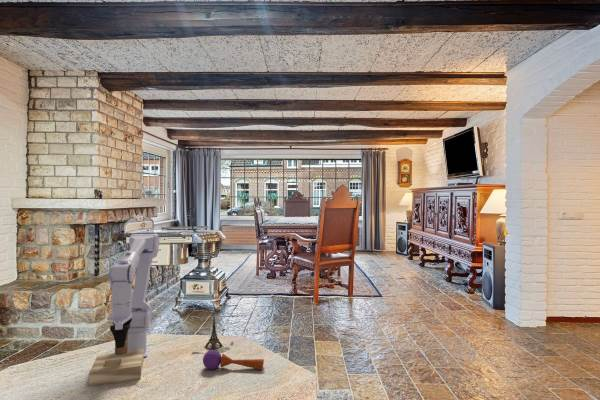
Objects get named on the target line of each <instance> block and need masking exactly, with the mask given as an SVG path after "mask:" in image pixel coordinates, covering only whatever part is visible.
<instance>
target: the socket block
mask: <svg viewBox="0 0 600 400" xmlns="http://www.w3.org/2000/svg"><path fill="white" fill-rule="evenodd" d="M143 354H144V349H141V350H133V351H127V353H126V354H123V355H116V354H115V352H110V353H102V354H97V355H96V358H95V360H94V362H93V364H92V366H91V369H90V370H89V373H88V375H89V378H88V383H89V384H88V387H94V386H101V385H107V384H113V383H120V382H128V381H134V380H139V379H140V380H141V379H142V373H143V372H142V371H143V366H144V357H143Z"/></svg>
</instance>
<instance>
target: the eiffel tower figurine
mask: <svg viewBox="0 0 600 400" xmlns="http://www.w3.org/2000/svg"><path fill="white" fill-rule="evenodd" d="M229 346H234V341H231V342H230V344H229ZM229 346H226V347H225V346H224V345H223V344H222V342H221V341H220V339H219V338H218V335H217V330H216V316H215V315H213V317H212V330H211V334H210V338H209V339H208V341H207V343H206V344H205V346H204V347H203V348H204V349H206V350H208V351H210V350H216V351H218V352H219V353H220V354H224V353H226V352H229V351H230V350H231V347H230V348H229ZM192 354H193V355H195V354H196V355H198V354H201V355H202V354H204V352H203V353H202V352H199V351H193V352H191V355H192Z"/></svg>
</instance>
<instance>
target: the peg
mask: <svg viewBox="0 0 600 400" xmlns="http://www.w3.org/2000/svg"><path fill="white" fill-rule="evenodd" d="M127 351H128V332H127V335H126V340H125V345H124V347H123V348H116V345H115V344H114V353H115V354H116V355H123V354H126V353H127Z"/></svg>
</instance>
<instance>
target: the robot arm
mask: <svg viewBox="0 0 600 400" xmlns="http://www.w3.org/2000/svg"><path fill="white" fill-rule="evenodd" d="M128 246H129V250H126V251H124V252H123V254H122V255H121V257H120V259H119V260H118V261H117V263H116V264H113V265H111V267H110V268H109V271H108V281H109V289H111V311H110V312H111V315H108V316H107V317H106V321H111V322H112V325H110V326H109V330H110V332H111V334H112V335H113V339H114V346H115V345H116V348H123V347H124V345H125V340H126V335H127V332H128V351H133V350H141V349H144V354H143V358H145V357H146V358H147V356H148V352H149V345H148V344H147V342H148V341H147V336H148V335H147V334H148V333H147V331H148V330H147V329H149V328H150V327H151V325H152V320H153V307H152V306H151V304H149V303H148V302H146V301H147V300H146V299H147V295H148V294H147V293H148V287H149V281H150V280H149V279H150V274H151V267H152V262H153V259H154V258H156V257H158V253H159V248H160V236H159V234H158V233H131V234H130V236H129V239H128ZM133 281H134V282H133ZM133 283H134V284H133ZM132 287H133V288H132Z"/></svg>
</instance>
